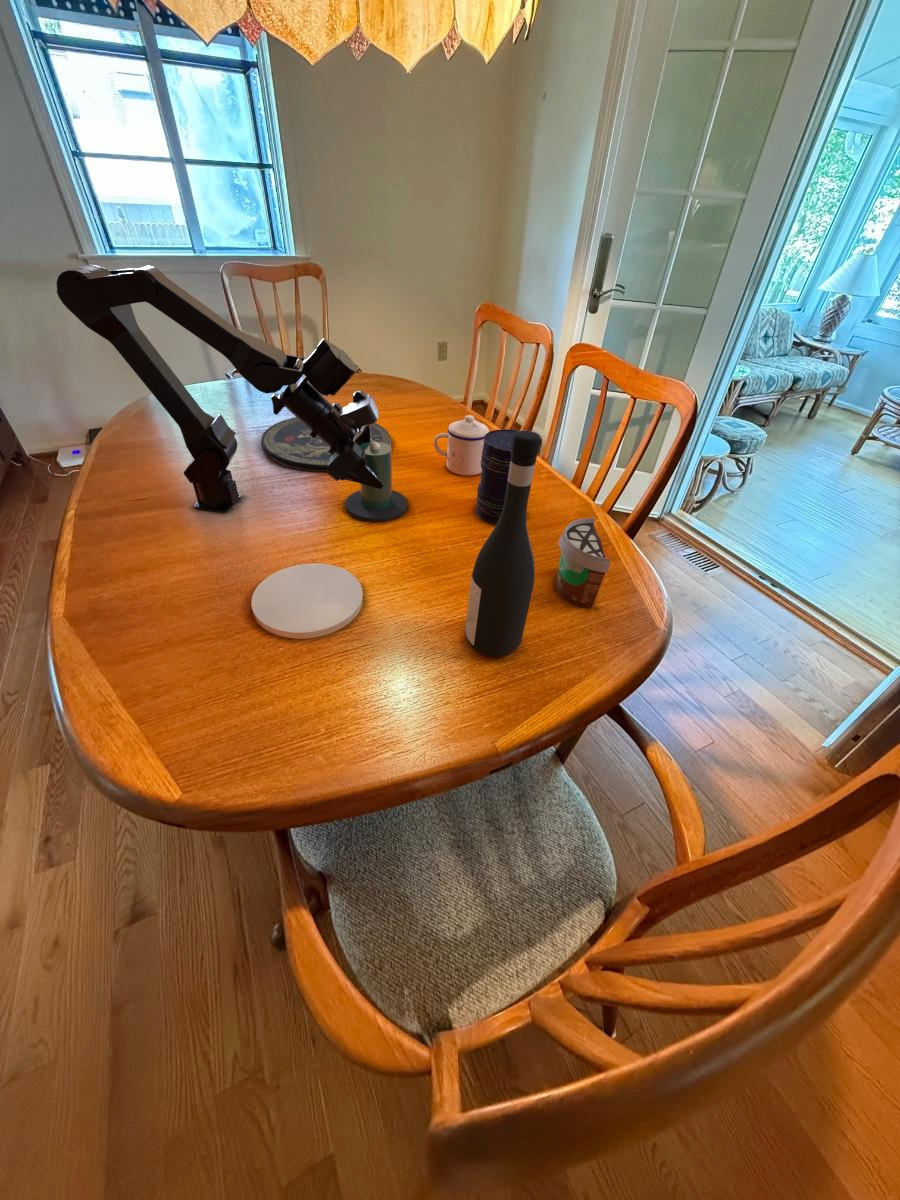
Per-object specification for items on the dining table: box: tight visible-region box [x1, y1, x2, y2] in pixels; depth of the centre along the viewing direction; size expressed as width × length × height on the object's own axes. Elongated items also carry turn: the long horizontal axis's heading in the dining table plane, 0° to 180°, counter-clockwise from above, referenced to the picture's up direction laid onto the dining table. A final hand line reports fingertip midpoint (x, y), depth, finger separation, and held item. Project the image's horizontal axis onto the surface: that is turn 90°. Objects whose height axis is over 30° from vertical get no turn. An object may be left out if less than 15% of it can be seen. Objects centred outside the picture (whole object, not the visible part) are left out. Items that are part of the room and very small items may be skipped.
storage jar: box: [475, 428, 518, 526], centre depth 93 cm, size 10×10×15 cm
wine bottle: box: [464, 429, 542, 658], centre depth 61 cm, size 8×8×30 cm
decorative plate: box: [260, 416, 392, 473], centre depth 117 cm, size 30×2×30 cm
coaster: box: [344, 489, 409, 523], centre depth 97 cm, size 12×12×1 cm
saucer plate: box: [250, 562, 364, 640], centre depth 74 cm, size 16×16×1 cm
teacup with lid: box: [433, 414, 490, 477], centre depth 109 cm, size 12×9×12 cm
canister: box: [359, 442, 393, 510], centre depth 93 cm, size 6×6×12 cm
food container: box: [555, 517, 612, 609], centre depth 78 cm, size 12×6×10 cm, turn 178°
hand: (383, 475), depth 93 cm, fingers open, 9 cm apart
